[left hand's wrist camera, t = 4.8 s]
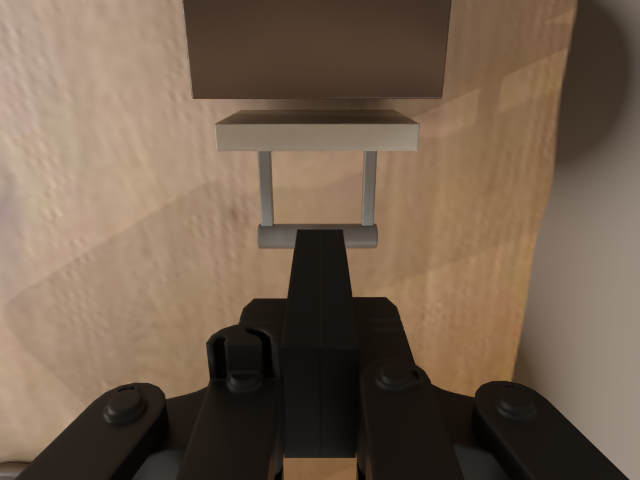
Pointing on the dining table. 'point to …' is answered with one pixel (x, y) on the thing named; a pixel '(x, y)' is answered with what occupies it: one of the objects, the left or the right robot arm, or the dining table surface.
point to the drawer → (316, 135)
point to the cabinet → (316, 48)
